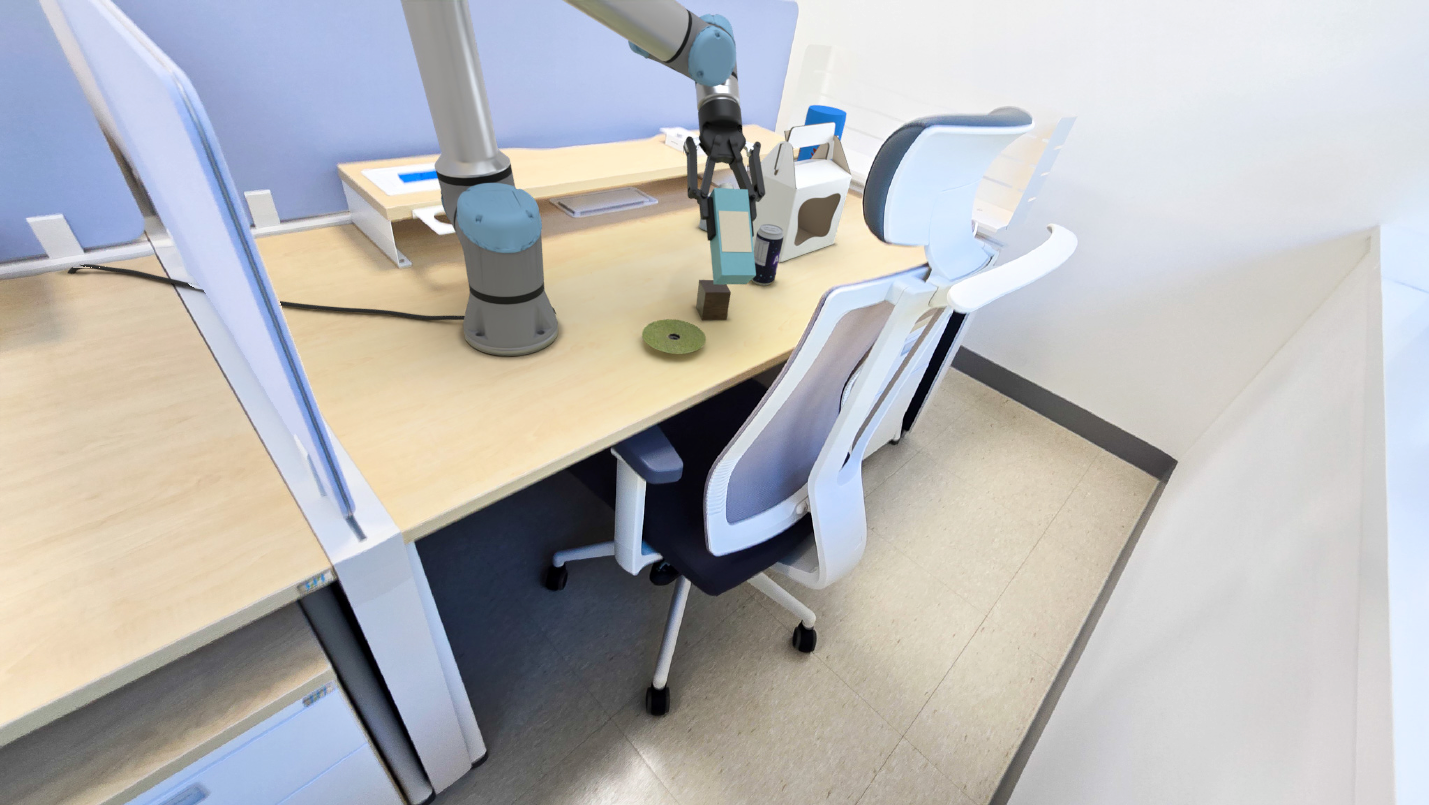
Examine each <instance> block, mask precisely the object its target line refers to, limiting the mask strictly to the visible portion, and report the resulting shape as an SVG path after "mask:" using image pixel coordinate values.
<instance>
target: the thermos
mask: <svg viewBox="0 0 1429 805" xmlns="http://www.w3.org/2000/svg"><path fill="white" fill-rule="evenodd" d="M804 120H805V121H804V125H811V124H819V123H827V122H834V123H835V131H834V135H838V136H839V137H838V138H839V139H840V141H842V136H843V133H844V129H845V124H846V120H847V112H846V111H845V110H843V109H841V108H837V107H833V106H828V105H820V104H811V105H809V106H808V109H807V111H806V115H805V119H804ZM820 145H821V144H819V145H813V146H807V147H801V148H798V155H797V157H796V158H797V159H796V162H797V161H803V160H808V159H811V158H812V157H813V155H814V154H815V152H816V151H817V149H818V148H819V146H820ZM830 160H832V159H830Z"/></svg>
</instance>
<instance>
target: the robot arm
mask: <svg viewBox="0 0 1429 805" xmlns="http://www.w3.org/2000/svg"><path fill="white" fill-rule="evenodd" d="M562 2H564V3H566V4H568V5H569V6H571V7H572V8H574V9H576V10H577V11H579V12H580V13H583V14H584V15H586V16H587V17H589V18H591V19H592V20H594V21H596V22H597V23H599V24H601V25H602V26H604V27H605V28H607V29H609V30H610V31H612V32H613V33H616V34H617V35H619V36H620V37H622V38H624V39H625V40H627V42H628V47H629V49H630V50H631V51H632V53H635V54H637V55H638V56H642V57H643V58H644V59H647V60H652V61H655V62H657V63H659V64H661V65H663V66H665V67H667V68H669V69H671V70H673V71H674V72H677V73H680V74H681V75H683V76H684V77H686V78H689V79H690V80H692V81H693V82H694V88H695V95H696V108H697V109H696V110H697V111H698V112H697V119H698V132H699V134H698V137H693V136H689V135H688V136H687V137H686V139H685V141H684V144H683V146H682V147H683V150H684V153H685V156H686V184H687V187H686V188H687V191H686V192H687V194H686V195H687V197H688V199H690V200H693V199H694V200H695V201H696V203H697V205H698V206H699V207H698V208H699V218H700V217H701V219H702V220H706V227H707V231H706V237H707V241H708V242H710V241H712V240H713V238H714V237H715V236H716V227H715V215H714V204H713V197H708V194H709V193H710V189H711V184H712V180H713V176H714V172H715V169H716V168H715V167H716V164H720V163H723V164H726V165H728V167H729V169H730V171H732V173H733V176H734V178H735V181H736V183H737V186H738V189H746V190H748V197H749V207H750V218H751V228H752V237H753V236H754V230H753V221H754V220H755V219H756V217H757V211H756V202H759V201H760V200H761V199H762V198H763V197H764V195H765V187H764V180H763V174H762V168H761V156H760V154H761V153H760V152H761V149H762V144H761V142H760V141H755V142H754V143H753V142H750V141H748V140H747V139H746V136H745V135H744V133H743V117H742V108H741V98H740V89H739V88H740V87H739V76H738V64H737V47H736V46H737V45H736V41H735V36H734V30H733V26H732V24H731V22H730V21H729V19H728V18H726V17H725V16H723V15H721V14H718V13H716V14H711V13H706V14H703V15H701V16H698V15H696V14H695V13H694V12H692V11H690V10H689V9H687V8H686V7H685V5H682V4H681V3H679V2H678V1H677V0H562ZM400 4H401V7H402V12H403V15H404V19H405V22H406V26H407V29H408V33H409V38H410V41H411V46H412V49H413V52H414V56H415V59H416V63H417V67H418V72H419V74H420V79H421V84H422V86H423V90H424V93H425V98H426V101H427V105H428V107H429V108H428V110H429V112H430V116H431V120H432V123H433V127H434V131H435V135H436V138H437V142H438V146H439V150H440V155H439V157H438V158H437V159H436V161H435V162H434V170H435V173H436V177H437V181H438V184H439V188H440V195H441V196H440V200H441V205H442V209H443V211H444V213H445V215H446V217H447V219H448V220H449V221H450V224H451V226H452V228H453V230H454V232H455V234H456V236H457V239H458V241H459V244H460V245H461V248H462V252H463V257H464V264H465V269H466V276H467V283H468V289H469V294H468V300H467V304H466V309H465V313H464V315H425V314H424V315H423V314H415V313H408V312H401V311H394V310H387V309H377V308H361V307H360V308H357V307H341V306H329V305H319V304H317V305H316V304H308V303H307V304H306V303H298V302H290V301H285V300H279V301H280V303H281V305H282V307H288V308H290V307H291V308H297V309H304V310H305V309H307V310H315V311H316V310H317V311H327V312H328V311H329V312H338V313H339V312H340V313H355V314H356V313H357V314H375V315H386V316H395V317H401V318H406V319H407V318H408V319H414V320H415V319H416V320H422V321H423V320H425V321H462V322H463V323H462V329H463V333H464V339H465V340H466V342H467V343H468V345H470V346H471V347H472V348H473V349H475V350H477V351H479V352H481V353H485V354H489V355H493V356H500V357H517V356H524V355H529V354H533V353H535V352H538V351H542V350H543V349H545V348H547V347H548V346H550V345H551V344H552V343H553V342H554V341H555V340H556V338H557V336H558V333H559V322H558V319H557V312H556V309H555V308H554V307H553V306H552V304H551V301H550V299H549V297H548V294H547V293H546V290H545V273H544V257H543V240H542V238H543V237H542V229H543V223H542V221H543V220H542V217H541V214H540V208H539V205H538V202H537V200H536V199H535V198H534V197H533V196H532V195H531V194H530V193H529V192H527V191H526V190H524V189H522V188H517V187H516V183H515V178H514V174H513V168H512V164H511V159H510V157H509V156H508V155H507V154H505V153H503V152H502V151H501V150H500V148H499V147H498V143H497V142H498V141H497V137H496V132H495V127H494V122H493V117H492V113H491V107H490V103H489V97H488V93H487V88H486V82H485V77H484V74H483V69H482V64H481V63H482V62H481V58H480V54H479V49H478V48H479V47H478V43H477V39H476V35H475V34H476V33H475V29H474V25H473V24H474V23H473V19H472V15H471V10H470V5H469V0H400ZM699 148H700V149H701V150H702V151H703V153H704V154H705V155H706V156H707V157H706V161H705V167H704V172H703V175H702V180H701V184H700V188H699V185H698V184H699V181H698V180H699V178H698V177H699V176H698V175H699V174H698V151H699ZM743 150H744V151H745V154H746V157H747V158H748V168H749V174H748V171H747V169H746V166H745V164H744V157H743V155H742V151H743ZM749 175H750V176H749ZM751 181H752V184H751ZM83 264H84V265H81V264H80V265H81V266H83V267H85V266H86V267H90V268H73V266H72V267H70V268H69V269H68V270H67V274H68V275H69V274H70V275H71V274H75V273H76V272H78V271H79V270H87V269H89V270H96V271H97V270H98V271H104V272H112V273H121V274H128V275H134V276H138V277H142V278H147V279H151V280H155V281H158V282H163V283H168V284H172V285H178V286H181V287H185V288H189V289H194V290H196V289H195V288H194V287H192V286H190V285H189V284H188V283H189V282H186V281H182V280H178V279H174V278H170V277H166V276H160V275H155V274H152V273H147V272H143V271H139V270H135V269H128V268H122V267H121V268H120V267H119V268H118V267H112V266H106V267H105V265H98V264H90V263H83ZM91 267H92V268H91ZM99 267H100V268H99ZM281 305H280V306H281Z"/></svg>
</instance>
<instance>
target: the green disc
mask: <svg viewBox="0 0 1429 805" xmlns="http://www.w3.org/2000/svg"><path fill="white" fill-rule="evenodd" d="M641 337H642V339H643V341H644V342H645V343H646V345H649V346H650V347H651V348H653V349H655V350H657V351H660V352H663V353H667V354H673V355H675V354H676V355H685V354H691V353H692V352H696V351H699V350H700V349H701V348H702V347H704V345H705V344H706V341H707V338H706V334H705V332H704V331H703V330H702V329H701V328H699V327H698V326H697V325H695V324H693V323H690V322H688V321H686V320H681V319H676V318H673V319H672V318H671V319H670V318H667V319H659V320H655V321H652V322H651V323H649V324H646V325H645V327H644V328H643V329H642V332H641Z"/></svg>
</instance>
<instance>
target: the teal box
mask: <svg viewBox="0 0 1429 805" xmlns="http://www.w3.org/2000/svg"><path fill="white" fill-rule="evenodd" d="M709 197H713V204H714V215H715V227H716V236H715V237H714V238H713V240H712V241H709V245H710V246H709V247H710V260H711V269H712V270H711V271H712V280H713V282H714V284H727V285H747V284H749V283H750V282H751V281H752V279H753V278H754V277H755V276H756V271H755V260H754V248H753V239H752V228H751V218H750V207H749V197H748V190H746V189H740V188H735V186H734V184H733V183H731V182H723V183H720V184H719V185H718V187H713V189H712V191H711V194H710V196H709Z"/></svg>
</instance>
